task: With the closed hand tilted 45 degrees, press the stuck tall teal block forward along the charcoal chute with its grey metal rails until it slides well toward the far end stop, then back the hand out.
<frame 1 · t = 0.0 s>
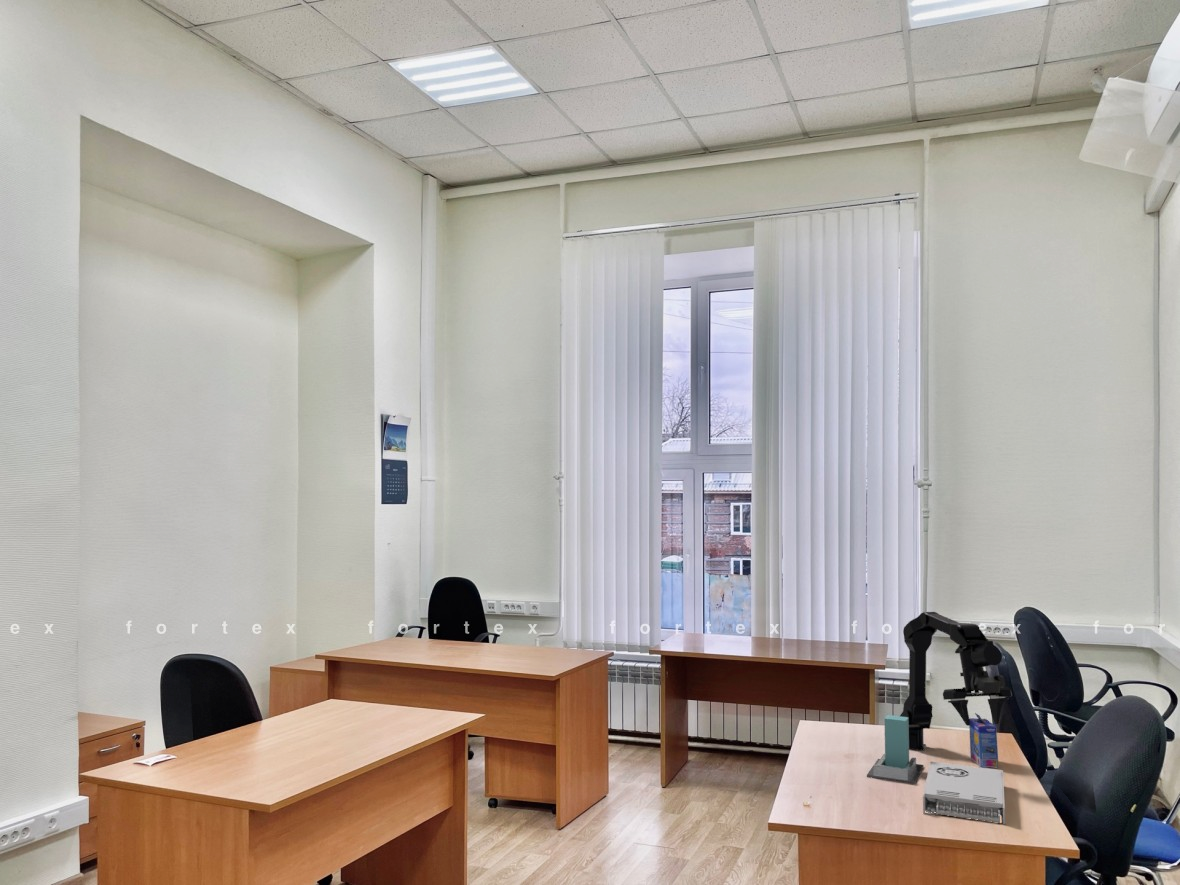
hand: (982, 724, 254), 15 cm above the table, tool pointing down, fingers open, 9 cm apart
jammed block: (896, 742, 263), point 8 cm above the table, slide at 0.0 cm
power supply unit: (965, 802, 237), on the table
ink cartridge box: (983, 763, 270), on the table
chute: (895, 771, 260), on the table
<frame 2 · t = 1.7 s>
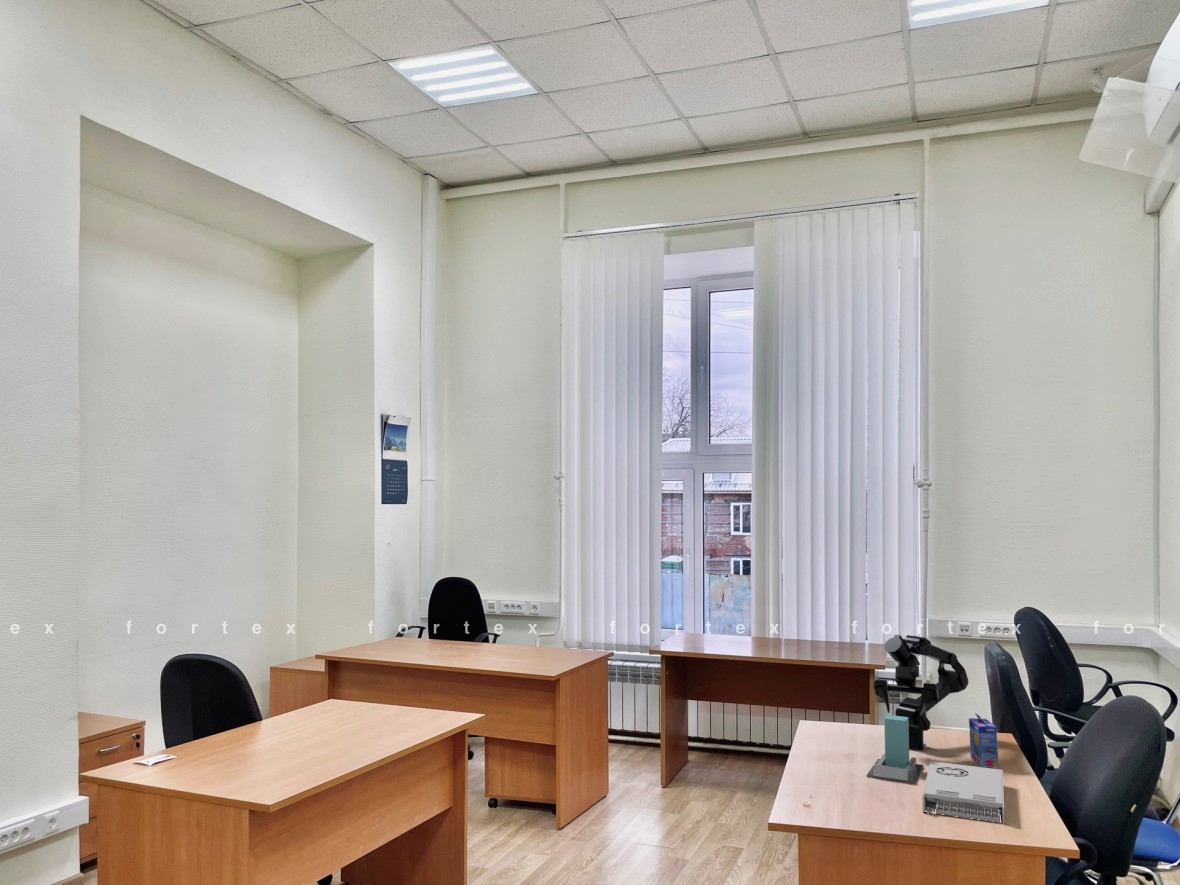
hand: (903, 713, 274), 14 cm above the table, tool tilted 45°, fingers open, 9 cm apart
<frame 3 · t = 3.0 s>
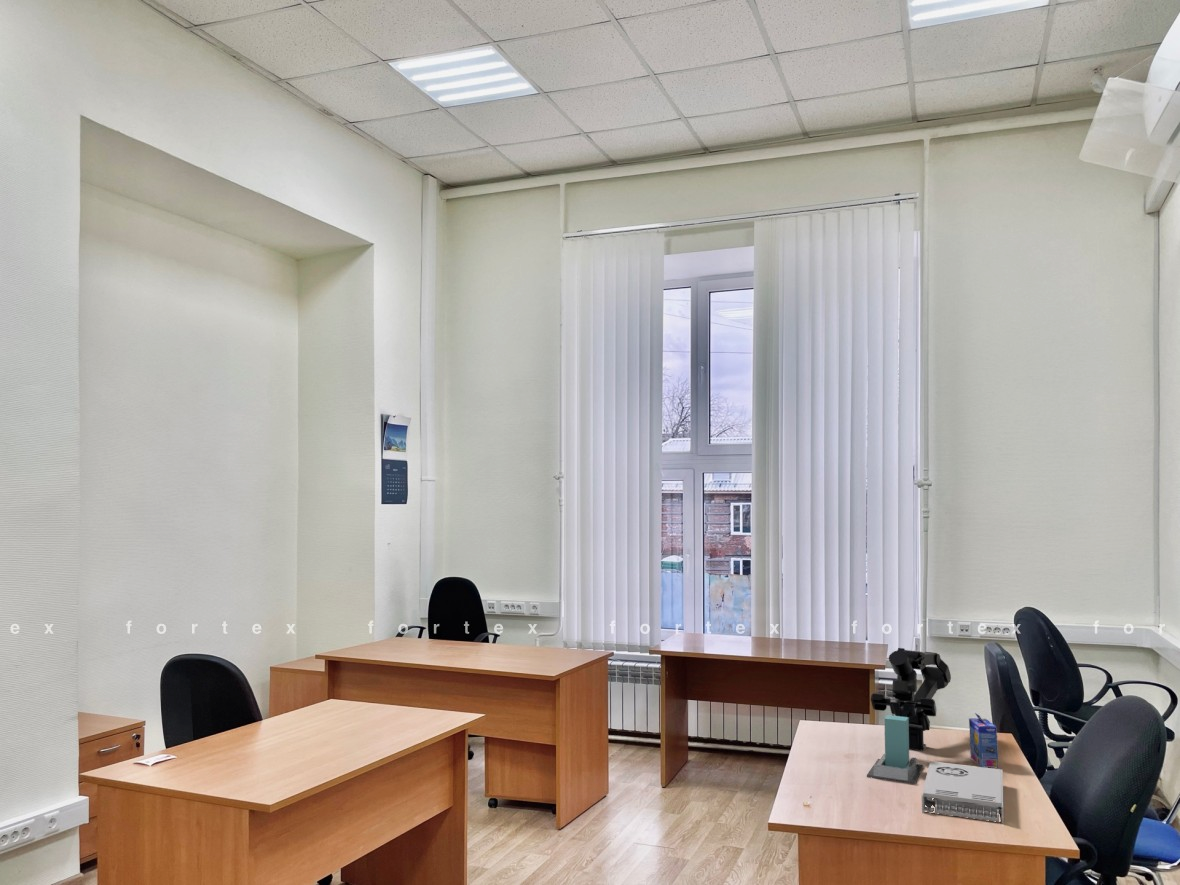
hand: (900, 728, 271), 10 cm above the table, tool tilted 45°, fingers closed
nothing on the table moved.
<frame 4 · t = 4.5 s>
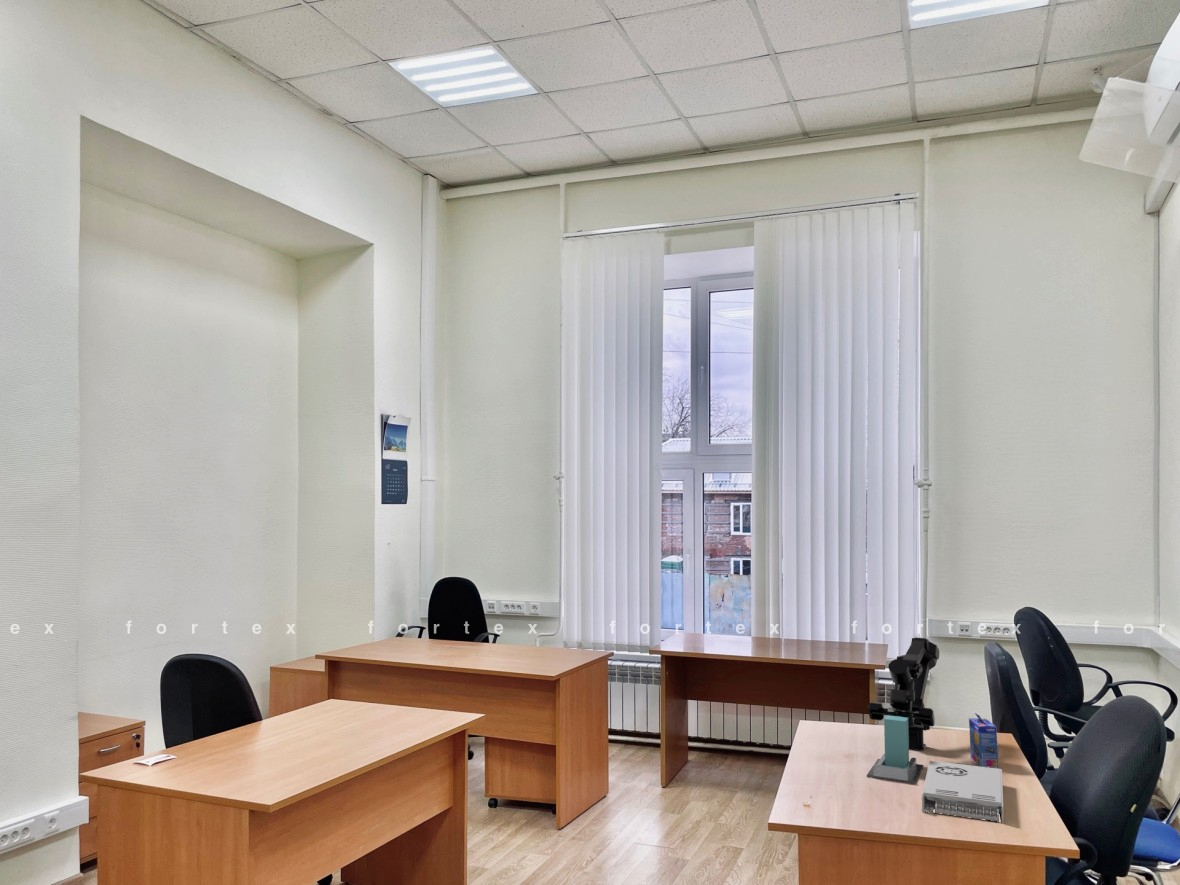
hand: (898, 738, 266), 8 cm above the table, tool tilted 45°, fingers closed, pressing on jammed block
jammed block: (896, 742, 263), point 8 cm above the table, slide at 0.5 cm, touching gripper
everything else where it was.
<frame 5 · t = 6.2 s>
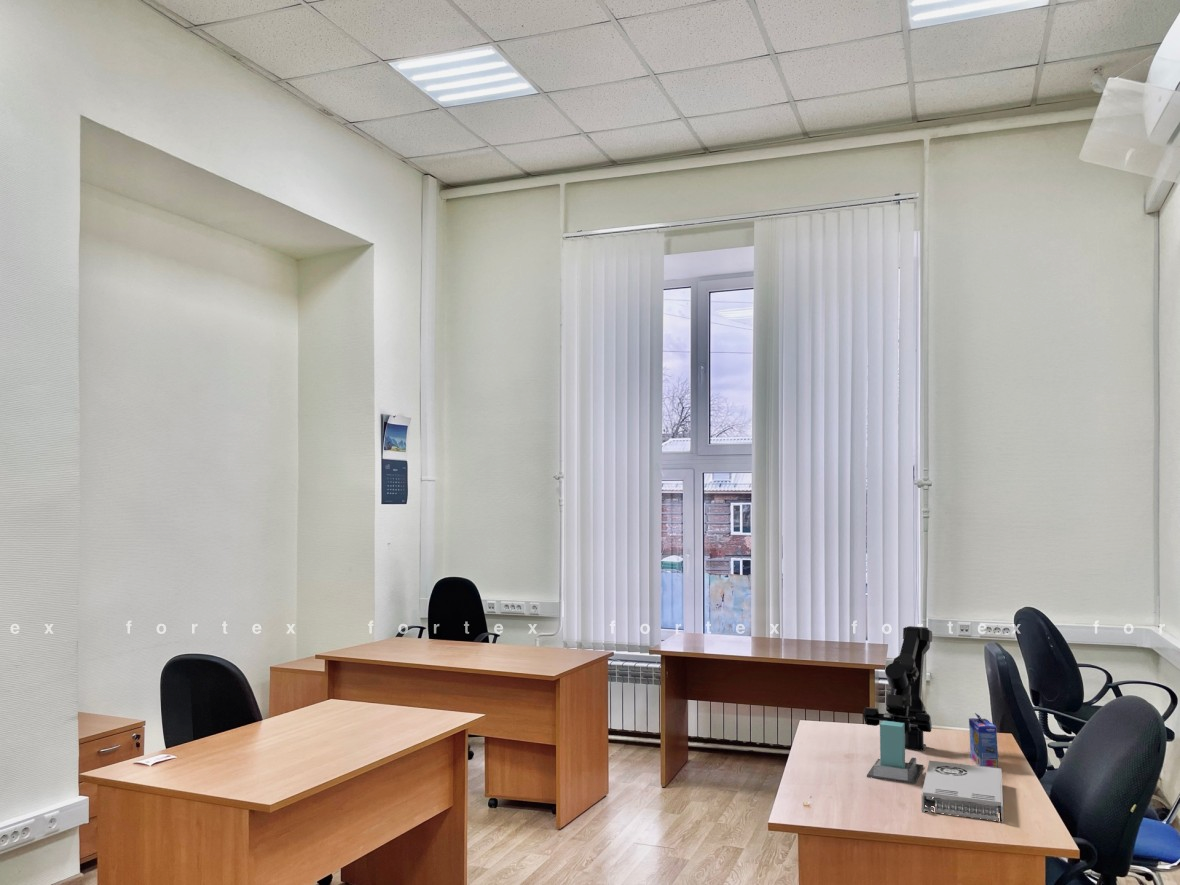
hand: (894, 744, 259), 8 cm above the table, tool tilted 45°, fingers closed, pressing on jammed block
jammed block: (892, 748, 257), point 8 cm above the table, slide at 7.7 cm, touching gripper
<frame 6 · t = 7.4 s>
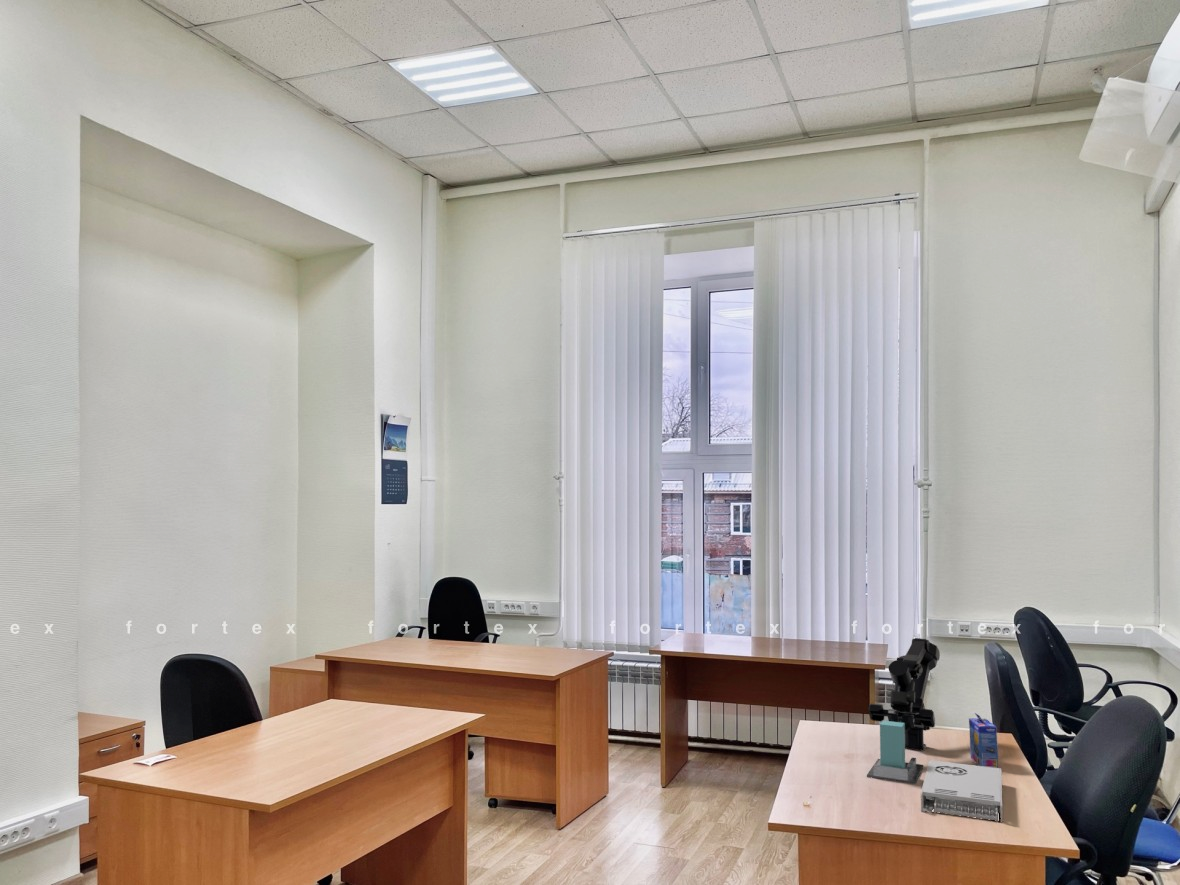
hand: (898, 740, 266), 8 cm above the table, tool tilted 45°, fingers closed
jammed block: (892, 748, 257), point 8 cm above the table, slide at 7.7 cm
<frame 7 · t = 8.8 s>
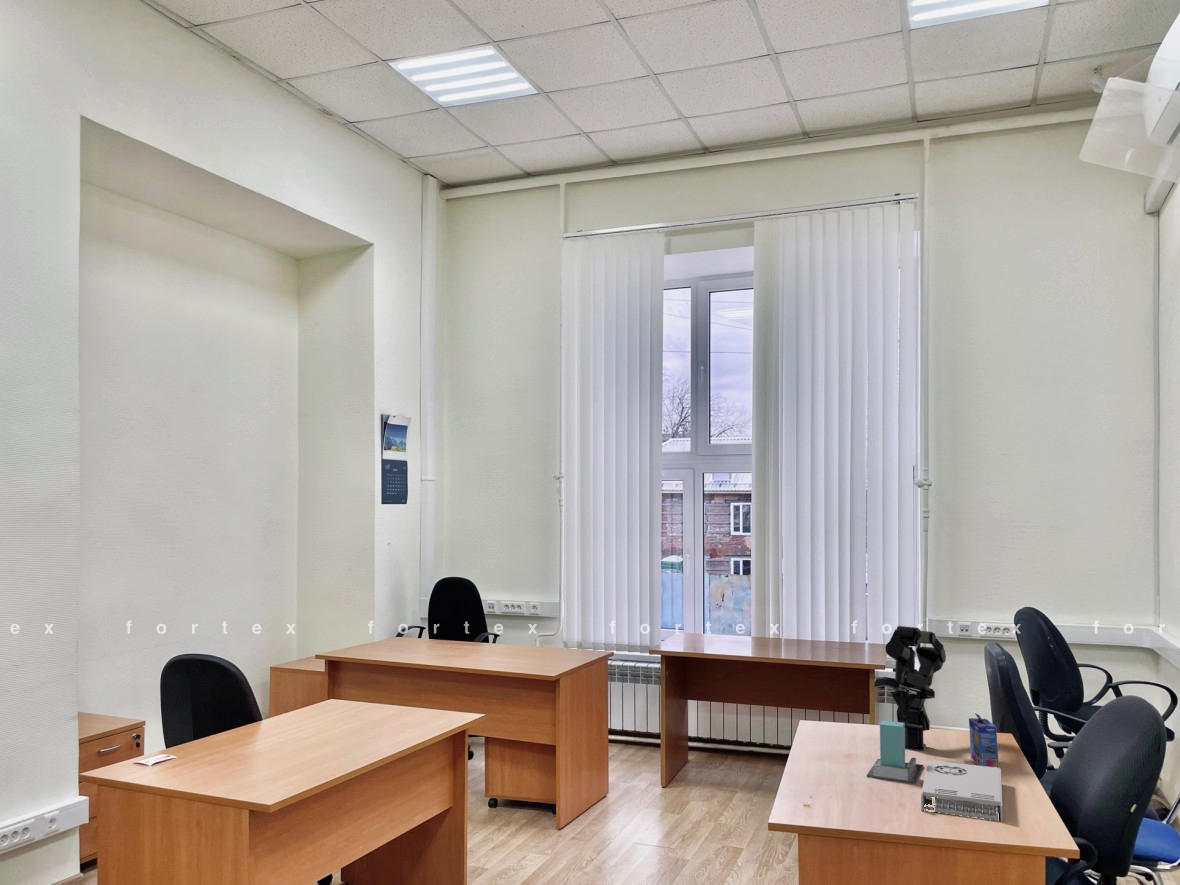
hand: (904, 716, 275), 12 cm above the table, tool tilted 25°, fingers closed
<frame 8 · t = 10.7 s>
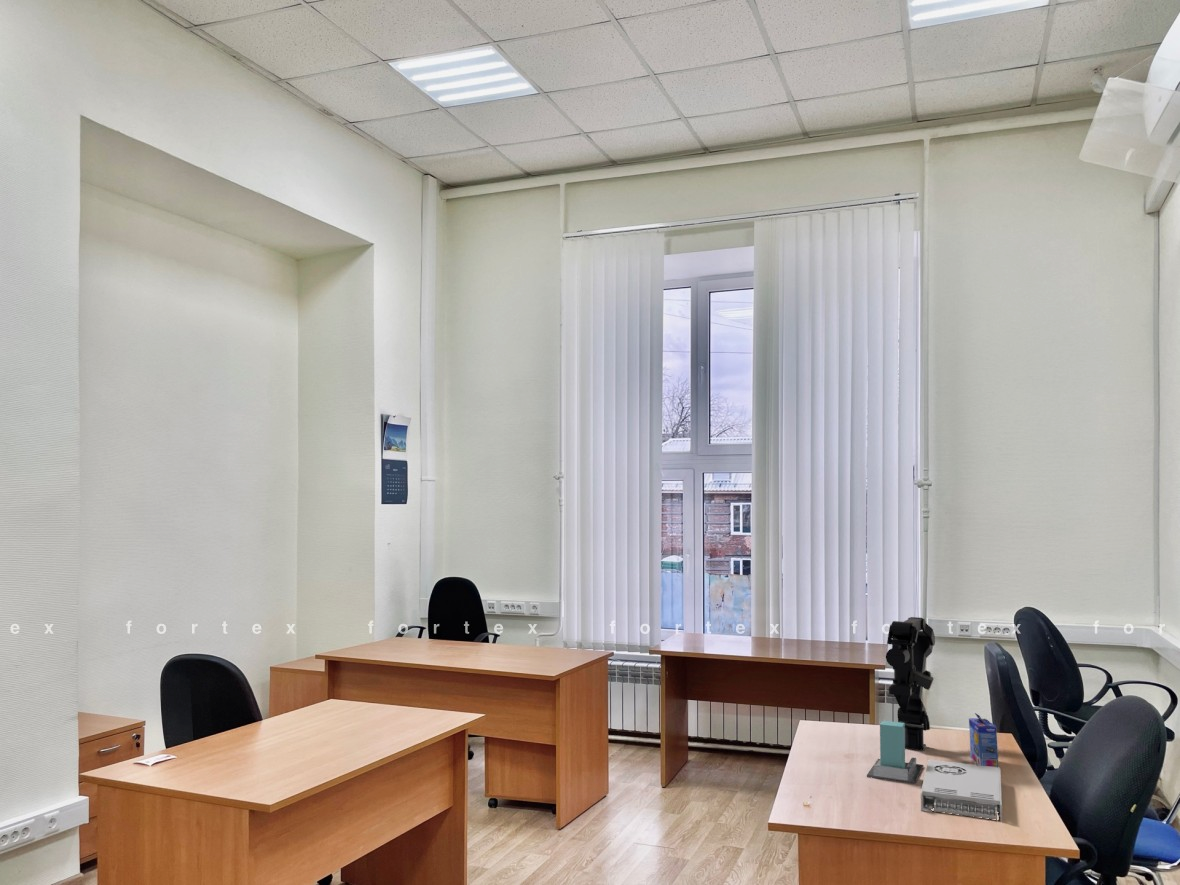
hand: (904, 713, 277), 13 cm above the table, tool pointing down, fingers closed
at the end: jammed block slide at 7.7 cm; ink cartridge box moved 0.3 cm from its start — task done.
